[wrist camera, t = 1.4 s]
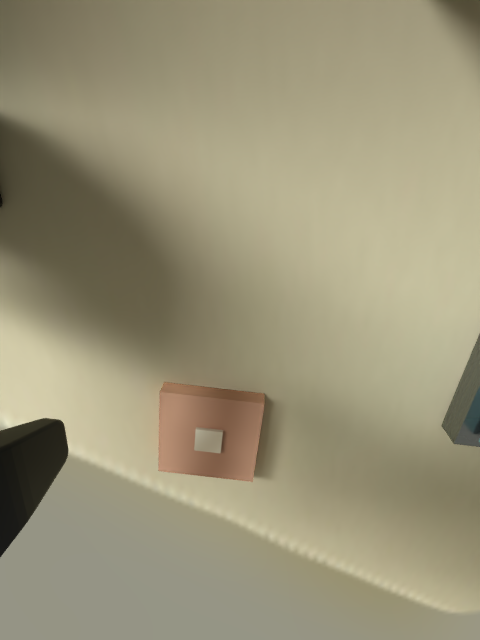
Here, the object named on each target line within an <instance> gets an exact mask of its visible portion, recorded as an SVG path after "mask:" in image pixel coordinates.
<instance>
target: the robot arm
mask: <svg viewBox="0 0 480 640" xmlns="http://www.w3.org/2000/svg"><path fill="white" fill-rule="evenodd" d="M1 206H2V198H1V195H0V207H1ZM67 456H68V444H67V438H66V432H65V427H64V423H63V422H62V421H61V420H58V419H49V418H43V419H39V420H35V421H32V422H29V423H25V424H22V425H18V426H15V427H11V428H8V429H5V430H1V431H0V557H1V556H2V554H3V553H4V552H5V551H6V549H7V548H8V547H9V545H10V544H11V543H12V541H13V540H14V539H15V538H16V536H17V535H18V533H19V532H20V531H21V530H22V528H23V527H24V526H25V524H26V523H27V522H28V520H29V519H30V517H31V516H32V514H33V513H34V511H35V510H36V508H37V507H38V505H39V503H40V502H41V500H42V499H43V497H44V495H45V494H46V492H47V491H48V489H49V487H50V486H51V484H52V483H53V481H54V479H55V478H56V476H57V475H58V473H59V471H60V470H61V468H62V467H63V465H64V463H65V462H66V459H67Z"/></svg>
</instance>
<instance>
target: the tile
mask: <svg viewBox="0 0 480 640" xmlns="http://www.w3.org/2000/svg"><path fill="white" fill-rule="evenodd" d="M264 405H265V394H262V393H253V392H244V391H236V390H227V389H219V388H210V387H201V386H193V385H184V384H175V383H167V382H164V383H163V386H162V388H161V390H160V408H159V471H164V472H172V473H181V474H190V475H198V476H207V477H216V478H224V479H233V480H242V481H250V482H253V476H254V470H255V463H256V457H257V450H258V444H259V437H260V431H261V425H262V418H263V412H264Z"/></svg>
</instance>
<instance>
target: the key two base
mask: <svg viewBox="0 0 480 640" xmlns="http://www.w3.org/2000/svg"><path fill="white" fill-rule="evenodd" d="M442 427H443V429H444V430H445V432H446V433H447V435H448V436H449V437H450V439H451V440H452V442H453V443H454V444H460V445H468V446H476V447H480V442H479V440H480V335H479V337H478V339H477V342H476V344H475V347H474V349H473V351H472V354H471V356H470V359H469V361H468V363H467V366H466V368H465V371H464V373H463V376H462V378H461V380H460V383H459V385H458V388H457V390H456V392H455V395H454V397H453V400H452V402H451V404H450V407H449V409H448V412H447V414H446V416H445V419H444V421H443V424H442Z"/></svg>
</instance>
